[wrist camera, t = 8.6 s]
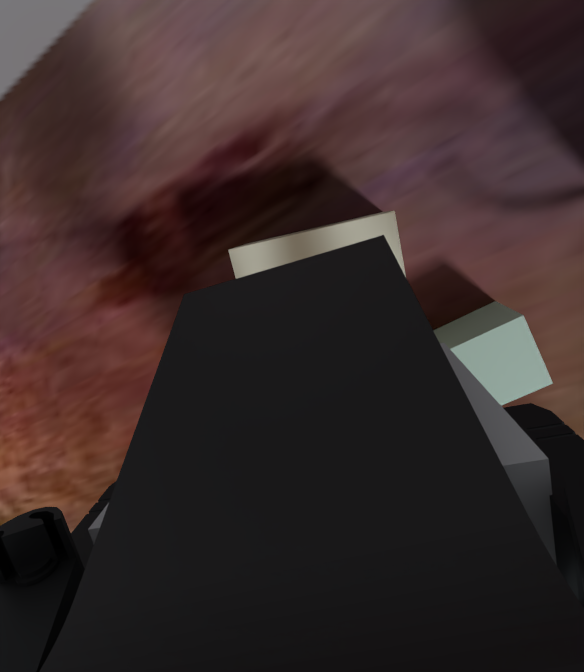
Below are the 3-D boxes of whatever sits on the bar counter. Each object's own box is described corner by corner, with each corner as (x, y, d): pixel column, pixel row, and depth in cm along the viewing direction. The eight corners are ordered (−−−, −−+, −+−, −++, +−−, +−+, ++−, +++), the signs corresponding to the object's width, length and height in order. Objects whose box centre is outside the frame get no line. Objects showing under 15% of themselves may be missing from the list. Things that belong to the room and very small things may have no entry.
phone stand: (449, 504, 15) (865, 1508, 3) (274, 539, 16) (124, 1431, 4) (384, 233, 13) (862, 391, 1) (188, 290, 14) (-558, 687, 2)
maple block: (382, 211, 32) (394, 211, 26) (406, 346, 34) (422, 373, 28) (245, 243, 33) (228, 249, 27) (277, 371, 36) (267, 401, 30)
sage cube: (495, 300, 33) (523, 315, 28) (521, 359, 34) (552, 383, 29) (430, 331, 34) (447, 350, 29) (457, 387, 35) (478, 415, 30)
